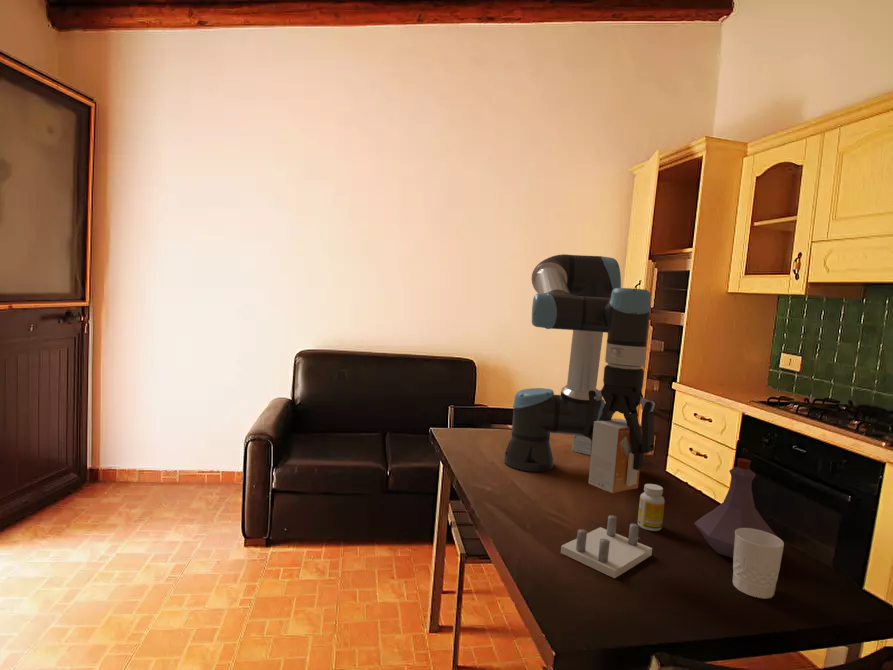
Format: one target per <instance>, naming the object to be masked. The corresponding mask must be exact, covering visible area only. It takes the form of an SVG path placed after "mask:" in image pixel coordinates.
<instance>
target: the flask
mask: <svg viewBox="0 0 893 670" xmlns="http://www.w3.org/2000/svg"><path fill="white" fill-rule="evenodd" d="M736 461H737V463H736V464H737V466H735V467H733V468H731V469H729V470H728V471H729V473H730V475H731V478H732V479H731V482H730V486H729V488H728V491H727V492H726V495H725V498H724V500H723V502H722V503H720V504H719V505H717V506H716V507H714V509H713V510H712V509H711V511H709V512H708V513H706V514H704V515H703V516H701V517H700V518H699V519H697V520H695V522H694V525H695V527H696V528H697V530H698V531H699V532H700V534H701V535H702V537H703V538H704V540H705V541H706V543H707V544H708V545H709V547H711V548H712V550H714V551H715V552H716V553H717V554H719V555H722V556H724V557H726V558H727V557H728V558H729V557H730V559H732V558H733V554H734V539H735V530H736V529H739V528H752V529H757V530H761V531H765V532H768V533H770V534H773V535H775V536H777V535H776V533H775V532H774V531H773V529H772V528H771V527H770V526H769V525H768V524H767V523H766V521H765V520H764V519H763V517H762V516H761V514H760V513H759V511H758V510H757V509H756V506H755V501H754V500H755V499H754V494H753V490H752V481H753V480H754V479H755V477H756V476H757V474H756V473H755V472H753V471H752V470H751V469H750V466H751V464H752V463H751V462H752V460H750V459H748V458H742V457H738V458H737V459H736Z"/></svg>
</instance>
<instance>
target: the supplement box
mask: <svg viewBox="0 0 893 670" xmlns="http://www.w3.org/2000/svg"><path fill="white" fill-rule="evenodd" d="M572 436H573V437H572V446H571V451H572V452H575V453H580V454H584V455H588V456H591V443H592V442H591V439H589V438H588V437H585V436H579V435H572Z"/></svg>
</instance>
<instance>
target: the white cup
mask: <svg viewBox="0 0 893 670" xmlns="http://www.w3.org/2000/svg"><path fill="white" fill-rule="evenodd" d="M775 535H776V534H775ZM775 535H773V534H770V533H768V532H765V531H761V530H757V529H752V528H739V529H736V530H735V539H734V554H733V559H732V561H733V562H732V570H733V572H732V585H733V586H734V587H735V588H736V589H737V590H738V591H739V592H741V593H743V594H745V595H748V596H751V597H754V598H756V597H757V598H758V599H764V600H765V599H766V600H767V599H772V597H774V596H775V592H776V587H777V582H778V579H779V573H780V570H781V563H782V558H783V552H784V547H785V546H784V545H785V543H784V540H782V539H781V538H780V537H778V536H777V535H776V536H775Z"/></svg>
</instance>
